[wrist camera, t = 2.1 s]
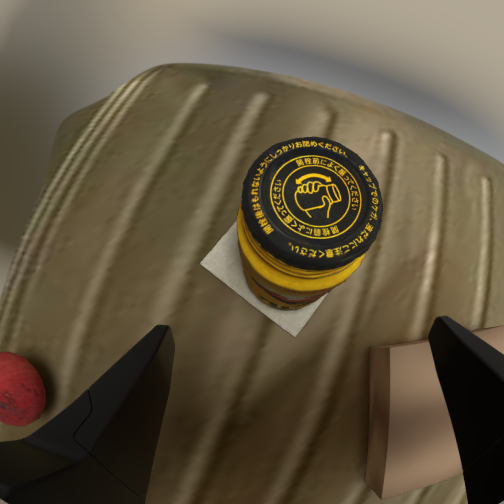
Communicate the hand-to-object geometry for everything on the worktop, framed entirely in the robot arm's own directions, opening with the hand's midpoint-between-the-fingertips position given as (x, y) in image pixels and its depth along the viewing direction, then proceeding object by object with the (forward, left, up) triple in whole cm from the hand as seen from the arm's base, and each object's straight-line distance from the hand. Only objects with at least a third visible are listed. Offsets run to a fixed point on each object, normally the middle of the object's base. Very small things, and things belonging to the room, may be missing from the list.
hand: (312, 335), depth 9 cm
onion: (-6, +20, -12) cm, 24 cm away
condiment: (+5, 0, -12) cm, 13 cm away
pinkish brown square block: (-7, -12, -12) cm, 18 cm away
